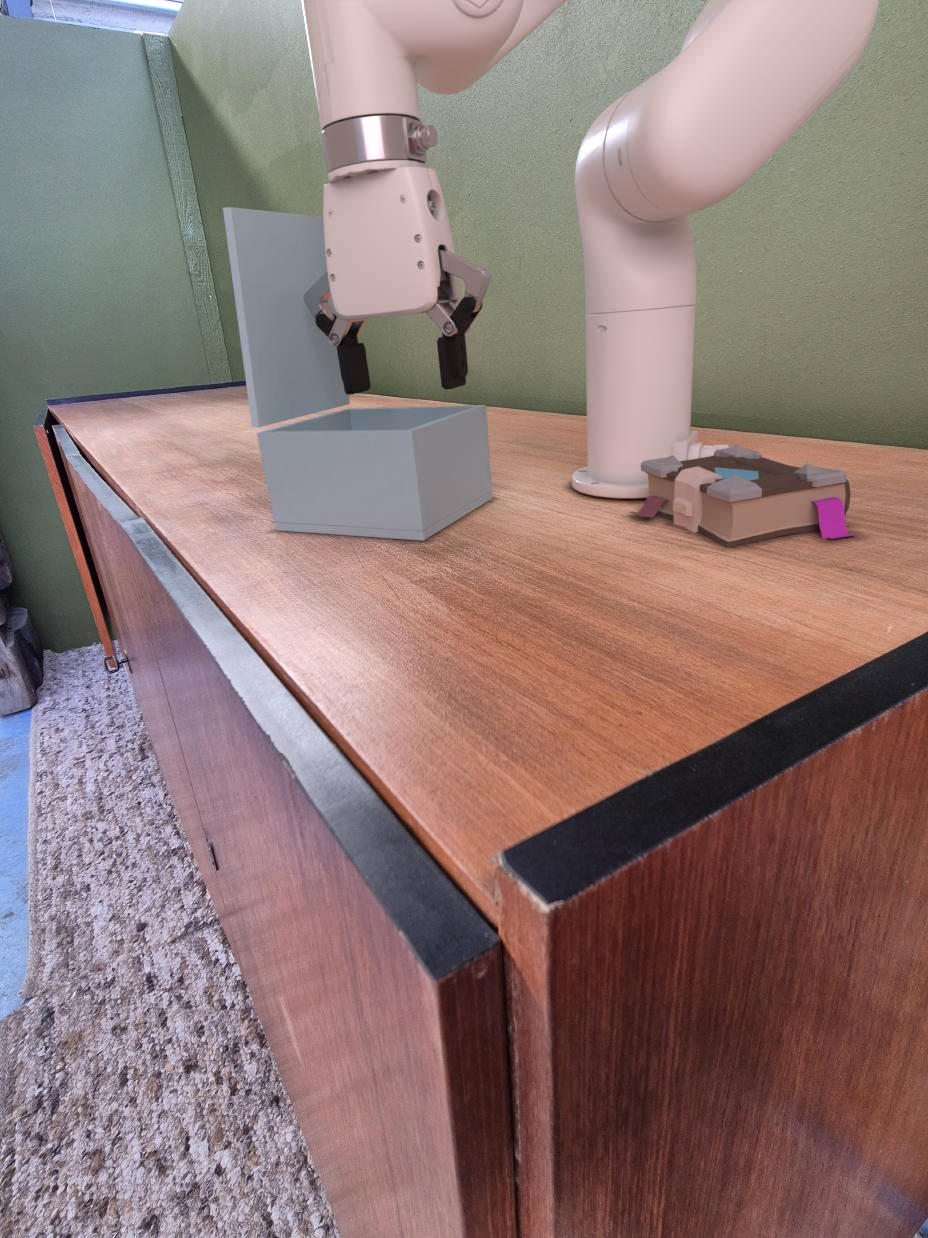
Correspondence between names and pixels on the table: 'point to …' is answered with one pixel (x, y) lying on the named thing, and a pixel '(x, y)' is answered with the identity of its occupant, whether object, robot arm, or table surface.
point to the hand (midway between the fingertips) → (404, 389)
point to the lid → (281, 314)
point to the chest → (378, 470)
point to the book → (746, 496)
